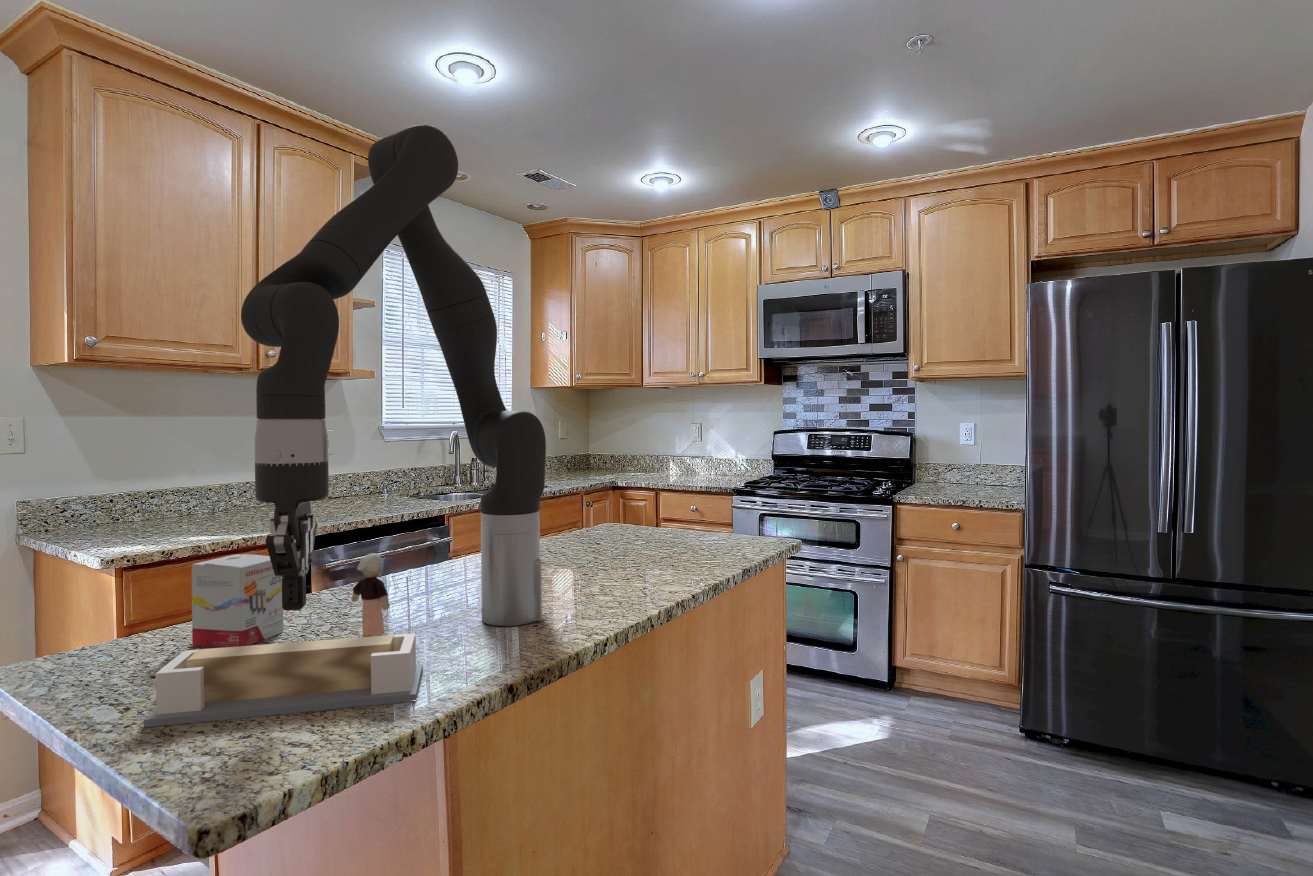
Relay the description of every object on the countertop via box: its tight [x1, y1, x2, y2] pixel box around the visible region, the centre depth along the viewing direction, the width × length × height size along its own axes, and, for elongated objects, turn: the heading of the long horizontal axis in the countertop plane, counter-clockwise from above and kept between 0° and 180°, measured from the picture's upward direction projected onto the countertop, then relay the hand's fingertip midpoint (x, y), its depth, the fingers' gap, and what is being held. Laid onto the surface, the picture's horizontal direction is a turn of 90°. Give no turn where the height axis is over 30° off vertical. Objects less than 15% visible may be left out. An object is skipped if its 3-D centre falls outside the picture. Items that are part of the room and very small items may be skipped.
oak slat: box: [187, 634, 395, 703], centre depth 81 cm, size 21×4×5 cm, turn 104°
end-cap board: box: [143, 632, 424, 728], centre depth 81 cm, size 27×10×5 cm, turn 104°
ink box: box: [191, 553, 285, 648], centre depth 103 cm, size 9×9×12 cm
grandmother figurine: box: [350, 552, 391, 637], centre depth 102 cm, size 8×4×13 cm, turn 71°
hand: (294, 608), depth 81 cm, fingers closed
